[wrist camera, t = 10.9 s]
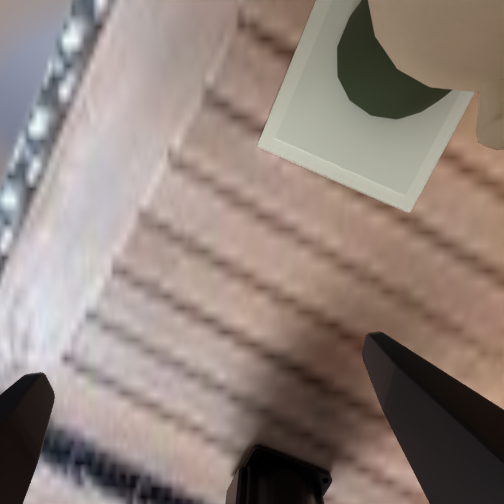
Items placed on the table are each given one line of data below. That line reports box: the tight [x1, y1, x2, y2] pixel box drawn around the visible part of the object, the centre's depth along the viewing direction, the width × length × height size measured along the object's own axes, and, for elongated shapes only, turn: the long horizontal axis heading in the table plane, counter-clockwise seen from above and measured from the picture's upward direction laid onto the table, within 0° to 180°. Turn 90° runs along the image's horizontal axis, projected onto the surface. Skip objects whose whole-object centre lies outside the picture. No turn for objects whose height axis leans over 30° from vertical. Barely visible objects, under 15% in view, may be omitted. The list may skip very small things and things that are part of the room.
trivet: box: [257, 0, 475, 213], centre depth 17 cm, size 10×14×1 cm
